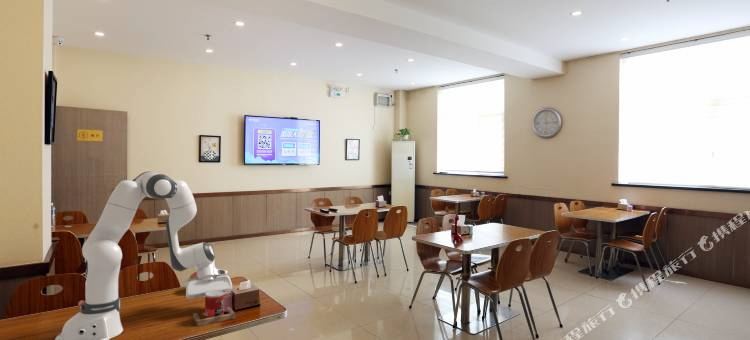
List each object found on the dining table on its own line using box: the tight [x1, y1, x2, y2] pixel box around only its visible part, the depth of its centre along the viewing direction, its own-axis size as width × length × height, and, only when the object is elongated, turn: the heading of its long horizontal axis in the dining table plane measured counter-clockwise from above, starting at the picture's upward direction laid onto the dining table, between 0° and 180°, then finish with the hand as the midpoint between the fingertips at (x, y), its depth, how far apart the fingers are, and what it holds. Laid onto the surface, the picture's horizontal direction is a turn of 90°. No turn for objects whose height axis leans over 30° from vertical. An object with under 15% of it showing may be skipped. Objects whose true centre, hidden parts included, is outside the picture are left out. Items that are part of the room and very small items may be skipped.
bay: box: [192, 306, 236, 327], centre depth 184 cm, size 16×10×2 cm, turn 123°
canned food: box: [204, 290, 225, 318], centre depth 186 cm, size 8×8×11 cm
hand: (211, 303), depth 189 cm, fingers closed, pressing on canned food
